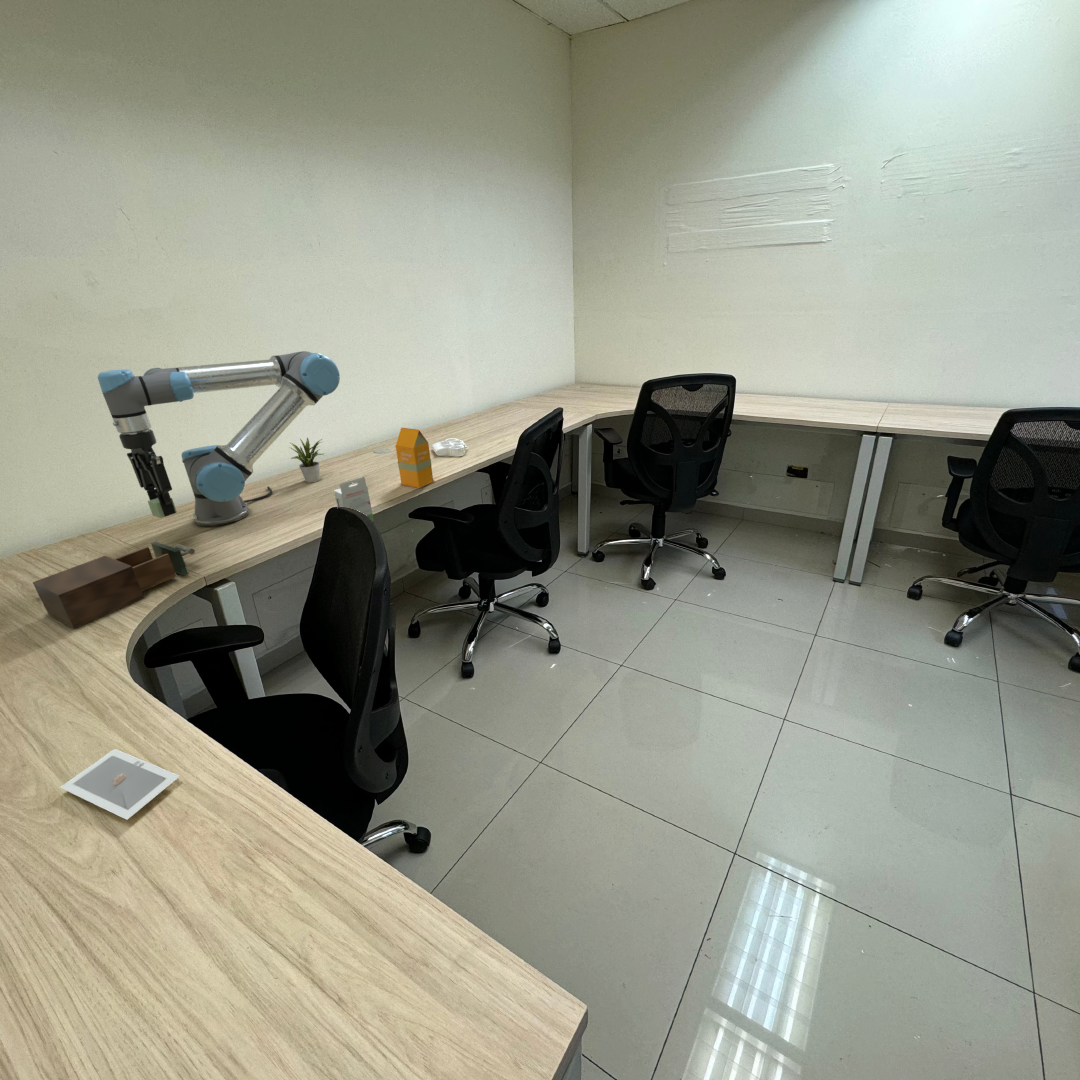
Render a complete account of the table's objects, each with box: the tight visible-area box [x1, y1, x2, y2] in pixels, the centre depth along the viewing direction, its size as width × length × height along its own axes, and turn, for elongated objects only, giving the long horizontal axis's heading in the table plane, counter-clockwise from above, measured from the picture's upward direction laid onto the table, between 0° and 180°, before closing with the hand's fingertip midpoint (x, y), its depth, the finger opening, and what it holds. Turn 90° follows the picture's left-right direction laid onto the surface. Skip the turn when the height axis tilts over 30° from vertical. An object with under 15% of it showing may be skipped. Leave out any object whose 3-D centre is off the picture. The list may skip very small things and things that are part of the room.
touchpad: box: [59, 748, 181, 821], centre depth 81 cm, size 8×15×2 cm, turn 67°
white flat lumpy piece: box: [431, 437, 470, 458], centre depth 236 cm, size 3×18×15 cm
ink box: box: [333, 476, 375, 523], centre depth 165 cm, size 9×5×15 cm, turn 134°
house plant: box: [288, 437, 326, 484], centre depth 204 cm, size 14×14×16 cm
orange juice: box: [395, 427, 434, 489], centre depth 197 cm, size 8×9×20 cm
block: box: [147, 497, 178, 519], centre depth 154 cm, size 4×4×4 cm
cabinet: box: [32, 555, 145, 630], centre depth 127 cm, size 15×13×9 cm
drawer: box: [114, 541, 196, 592], centre depth 138 cm, size 18×11×7 cm, turn 150°
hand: (165, 512), depth 155 cm, fingers closed on block, 4 cm apart
